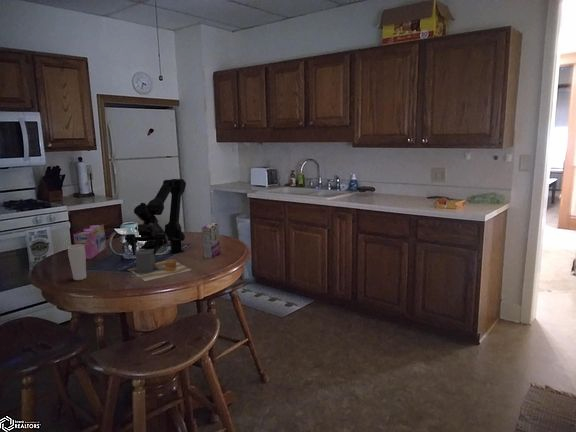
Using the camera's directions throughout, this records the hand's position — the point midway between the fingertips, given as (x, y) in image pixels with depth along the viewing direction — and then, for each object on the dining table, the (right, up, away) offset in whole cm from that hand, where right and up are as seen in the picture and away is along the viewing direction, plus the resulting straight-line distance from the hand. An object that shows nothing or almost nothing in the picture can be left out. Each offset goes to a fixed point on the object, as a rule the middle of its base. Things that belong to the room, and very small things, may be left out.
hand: (144, 254), depth 193 cm
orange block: (+12, -7, +3) cm, 14 cm away
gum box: (-40, -3, +36) cm, 54 cm away
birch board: (+6, -8, +4) cm, 10 cm away
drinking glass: (-27, -10, -5) cm, 29 cm away
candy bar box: (+27, -3, +25) cm, 37 cm away
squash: (-12, +1, +48) cm, 49 cm away
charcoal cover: (0, -7, +3) cm, 8 cm away
